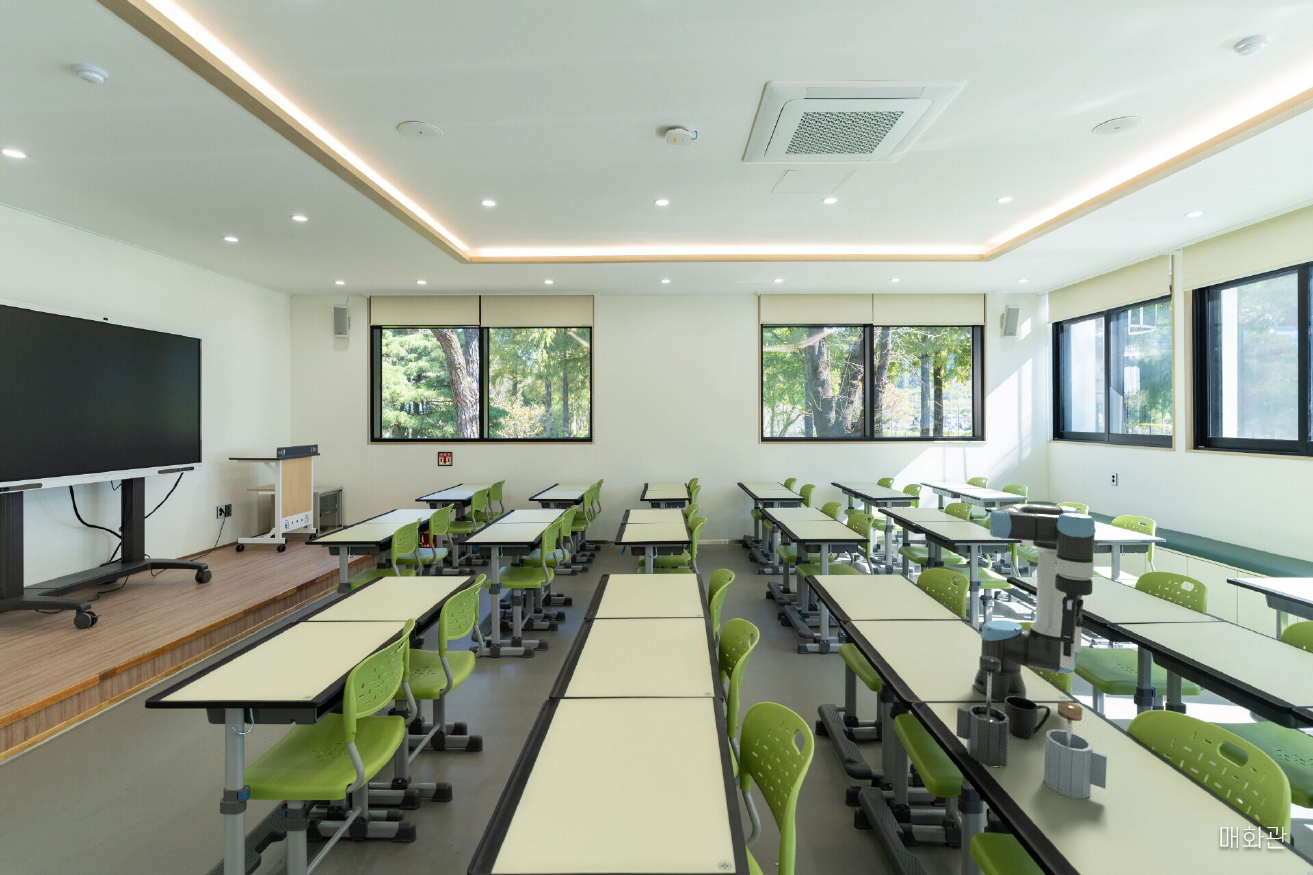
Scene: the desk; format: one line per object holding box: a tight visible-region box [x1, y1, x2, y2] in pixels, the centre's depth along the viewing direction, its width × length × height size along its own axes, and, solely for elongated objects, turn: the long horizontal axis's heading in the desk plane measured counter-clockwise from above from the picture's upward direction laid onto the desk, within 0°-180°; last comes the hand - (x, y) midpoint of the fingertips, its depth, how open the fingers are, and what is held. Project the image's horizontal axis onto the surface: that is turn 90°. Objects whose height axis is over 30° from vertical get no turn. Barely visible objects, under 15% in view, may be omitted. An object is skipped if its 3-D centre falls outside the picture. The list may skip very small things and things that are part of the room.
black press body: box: [956, 704, 1010, 768], centre depth 157 cm, size 9×12×12 cm
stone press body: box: [1043, 728, 1108, 800], centre depth 143 cm, size 9×12×12 cm
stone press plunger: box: [1057, 700, 1083, 748], centre depth 144 cm, size 6×6×18 cm
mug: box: [1003, 696, 1051, 741], centre depth 167 cm, size 8×12×10 cm
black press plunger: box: [976, 655, 1001, 722], centre depth 156 cm, size 6×6×18 cm
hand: (1070, 659), depth 143 cm, fingers open, 13 cm apart
